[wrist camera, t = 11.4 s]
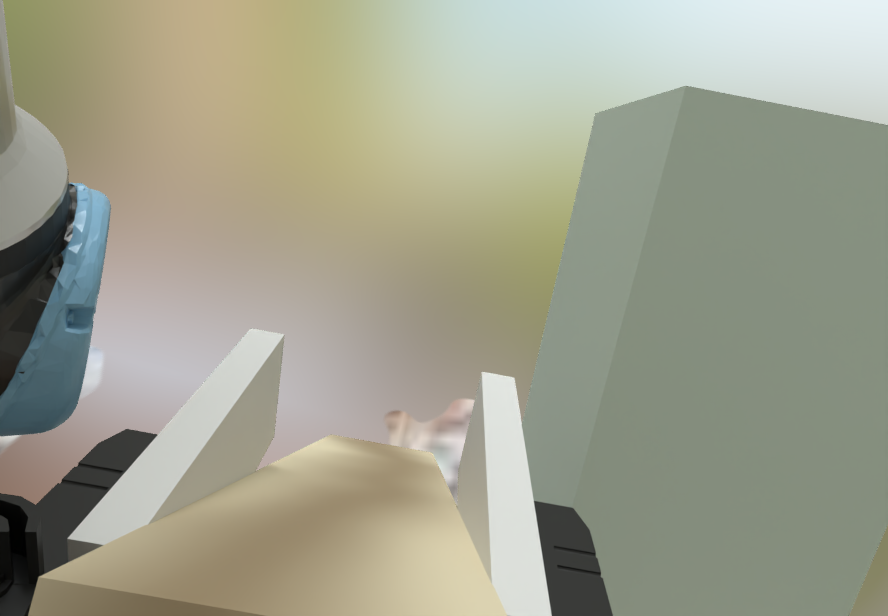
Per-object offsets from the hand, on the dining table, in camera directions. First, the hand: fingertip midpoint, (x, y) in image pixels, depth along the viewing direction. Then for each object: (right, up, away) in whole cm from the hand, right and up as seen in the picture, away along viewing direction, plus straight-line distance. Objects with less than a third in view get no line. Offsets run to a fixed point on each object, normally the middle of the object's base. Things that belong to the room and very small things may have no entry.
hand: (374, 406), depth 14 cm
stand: (+10, -19, +19) cm, 29 cm away
